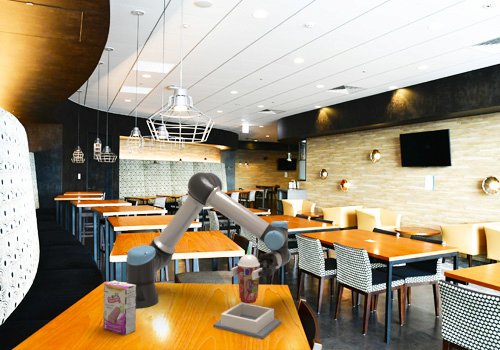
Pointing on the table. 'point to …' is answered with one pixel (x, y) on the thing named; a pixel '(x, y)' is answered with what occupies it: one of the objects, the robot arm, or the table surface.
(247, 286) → the smoothie
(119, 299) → the candy bar box
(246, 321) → the board
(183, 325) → the table surface
